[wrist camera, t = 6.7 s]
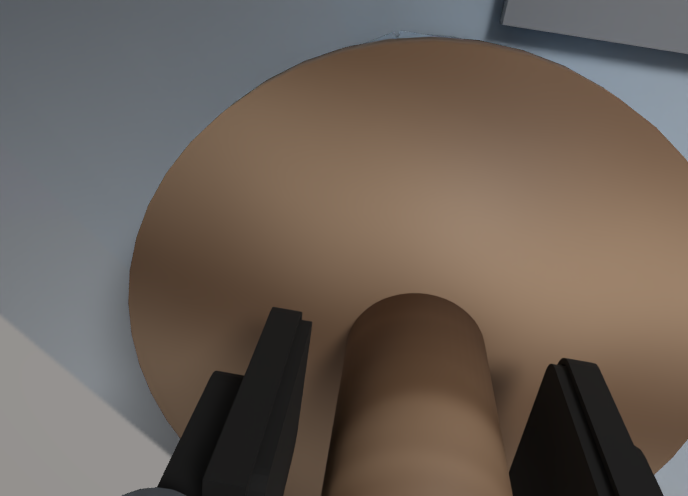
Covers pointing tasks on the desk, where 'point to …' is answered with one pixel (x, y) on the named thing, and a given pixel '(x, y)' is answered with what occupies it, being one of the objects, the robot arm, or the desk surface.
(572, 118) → the lid
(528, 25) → the mat
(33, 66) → the desk surface
